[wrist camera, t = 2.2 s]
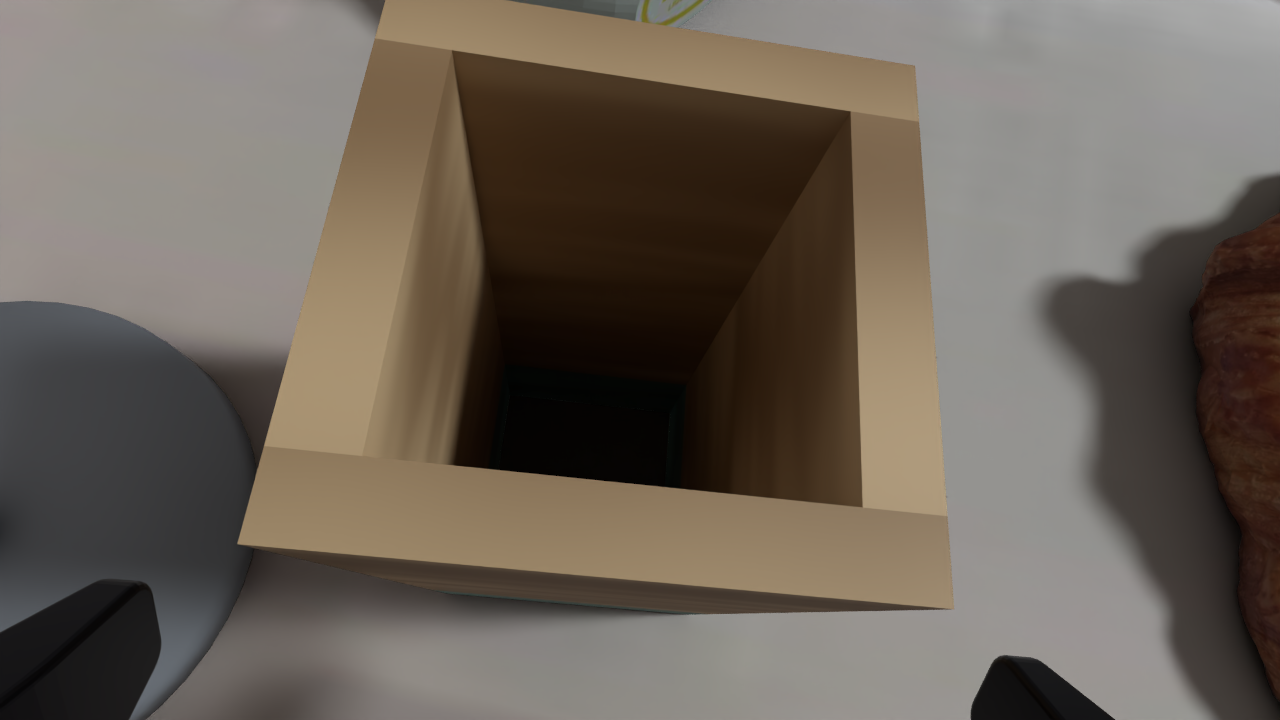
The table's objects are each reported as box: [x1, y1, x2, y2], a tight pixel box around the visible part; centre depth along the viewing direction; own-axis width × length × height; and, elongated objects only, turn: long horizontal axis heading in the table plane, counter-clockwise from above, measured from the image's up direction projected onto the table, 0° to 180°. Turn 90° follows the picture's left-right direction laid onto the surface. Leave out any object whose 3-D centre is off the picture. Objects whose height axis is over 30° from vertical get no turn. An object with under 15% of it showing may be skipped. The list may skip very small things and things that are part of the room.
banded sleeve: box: [237, 0, 954, 614], centre depth 13 cm, size 6×6×12 cm
